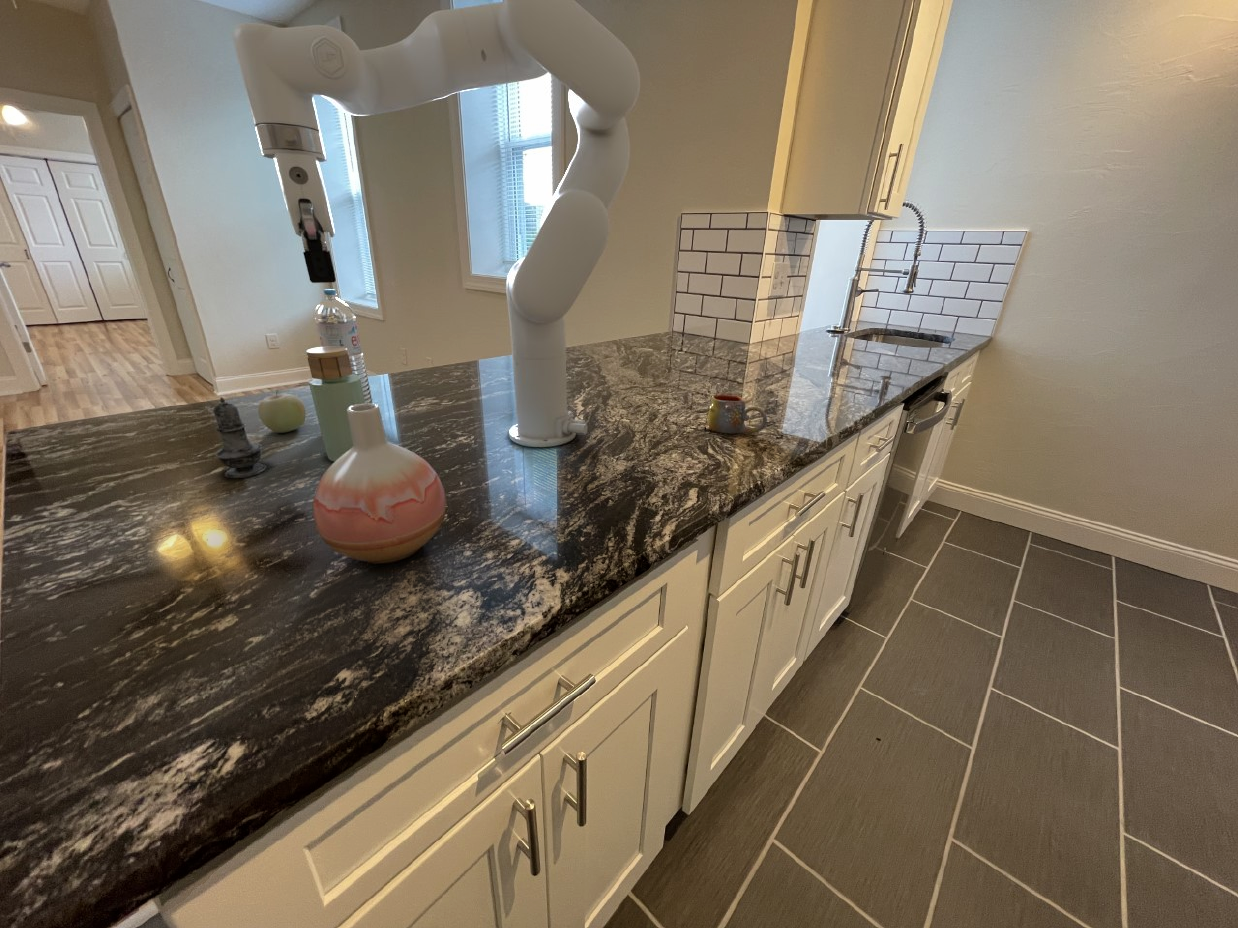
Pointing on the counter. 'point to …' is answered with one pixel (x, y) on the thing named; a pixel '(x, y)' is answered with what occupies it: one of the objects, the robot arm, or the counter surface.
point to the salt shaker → (236, 443)
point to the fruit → (282, 412)
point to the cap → (329, 362)
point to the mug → (731, 415)
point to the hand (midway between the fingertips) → (323, 280)
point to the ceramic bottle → (336, 411)
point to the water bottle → (342, 334)
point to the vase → (377, 496)
